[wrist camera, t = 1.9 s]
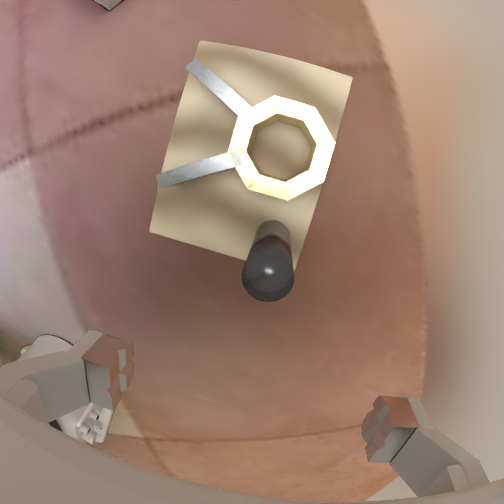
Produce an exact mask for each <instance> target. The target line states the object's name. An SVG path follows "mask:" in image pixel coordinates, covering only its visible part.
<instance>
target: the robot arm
mask: <svg viewBox="0 0 504 504" xmlns="http://www.w3.org/2000/svg"><path fill="white" fill-rule="evenodd" d="M133 354H134V346H133V344H132V343H130V342H127V341H124V340H122V339H119V338H116V337H114V336H111V335H108V334H105V333H103V332H100V331H97V330H95V329H91V330H89V331H88V332H87V333H86V334H85V335H84V336H83V337H82V338H81V339H80V340H79V341H78V342H77V343H76V344H75V345H73V346H72V345H70V344H69V343H67V342H66V341H64V340H62V339H60V338H58V337H55V336H51V335H43V336H40V337H38V338H37V339H36V340H35V341H34V343H33V344H32V345H29V346H25V347H24V348H23V349H22V350H21V356H20V357H19V359H18V360H17V361H16V362H11V363H6V364H4V365H3V366H2V367H0V504H504V479H500V480H497V481H493V482H490V483H489V480H488V478H487V476H486V474H485V472H484V470H483V467H482V465H481V464H480V461H479V460H478V459H477V458H475V457H474V456H473V455H471V454H470V453H469V452H467V451H466V450H465V449H463V448H462V447H460V446H459V445H458V444H457V443H455V442H454V441H453V440H451V439H450V438H449V437H447V436H446V435H445V434H444V433H442V432H441V431H440V430H438V429H437V428H433V427H432V425H431V423H430V421H429V419H428V417H427V415H426V412H425V410H424V408H423V406H422V404H421V402H420V400H419V399H418V398H417V397H391V396H378V397H377V398H376V400H375V401H374V403H373V406H374V409H373V410H372V411H370V412H369V413H367V415H366V417H365V419H364V421H363V425H362V436H363V439H364V440H365V441H366V442H367V443H368V444H367V446H366V447H365V450H366V454H367V459H368V462H376V463H390V465H391V466H392V467H393V468H394V470H395V471H396V472H397V473H398V474H399V475H400V477H401V478H402V479H403V480H404V481H405V482H406V484H407V485H408V486H409V487H410V488H411V489H412V491H413V492H414V493H415V494H416V495H417V496H418V497H415V498H406V499H396V500H383V501H361V502H328V501H306V500H293V499H283V498H274V497H266V496H259V495H252V494H246V493H240V492H235V491H229V490H224V489H220V488H215V487H211V486H206V485H202V484H198V483H194V482H190V481H186V480H183V479H179V478H176V477H172V476H169V475H166V474H162V473H159V472H156V471H153V470H150V469H147V468H144V467H141V466H139V465H136V464H133V463H130V462H128V461H125V460H122V459H120V458H117V457H115V456H112V455H110V454H108V453H105V452H103V451H101V450H98V449H96V448H94V447H92V446H89V445H87V442H88V443H90V444H94V442H101V443H102V442H103V441H104V440H105V438H106V435H107V432H108V428H109V425H110V421H111V418H112V415H113V411H114V409H115V407H116V406H117V404H118V402H119V401H120V399H121V392H122V391H125V390H127V388H128V387H129V385H130V383H131V380H132V377H133V372H134V364H133V362H132V361H131V357H132V356H133Z"/></svg>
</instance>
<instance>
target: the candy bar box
mask: <svg viewBox="0 0 504 504" xmlns="http://www.w3.org/2000/svg"><path fill="white" fill-rule="evenodd" d="M93 1H94V2H96V3H97V4H99V5H100V6H102V7H103V8H104V9H106V10H107V11H110V10H111V9H113V8H114V7H116V6H117V5H118V4H119V3H120V2H122V1H123V0H93Z"/></svg>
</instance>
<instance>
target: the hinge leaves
mask: <svg viewBox="0 0 504 504" xmlns="http://www.w3.org/2000/svg"><path fill="white" fill-rule="evenodd" d="M185 68H186V69H187V70H188V71H189V72H190V73H191V74H192V75H193V76H194V77H195V78H196V79H197V80H198V81H200V82H201V83H202V84H203V85H204V86H205V87H206V88H207V89H208V90H210V91H211V92H212V93H213V94H214V95H215V96H216V97H217V98H218V99H219V100H221V101H222V102H223V103H224V104H225V105H226V106H227V107H228V108H229V109H230V110H231V111H232V112H233V113H235V114H236V115H237V116H238V119H237V122H236V125H235V129H234V132H233V136H232V139H231V143H230V146H229V150H228V153H225V154H221V155H218V156H214V157H211V158H207V159H204V160H201V161H197V162H194V163H191V164H187V165H184V166H181V167H178V168H175V169H172V170H169V171H165V172H162V173H159V174H156V175H155V176H156V179H157V183H158V187H159V189H161V188H165V187H169V186H174V185H178V184H181V183H185V182H188V181H191V180H195V179H198V178H202V177H205V176H209V175H212V174H216V173H220V172H223V171H227V170H231V169H234V168H236V169H237V171H238V173H239V175H240V176H241V178H242V180H243V182H244V183H245V185H246V187H247V189H250V190H253V191H257V192H260V193H263V194H267V195H270V196H274V197H277V198H280V199H284V200H287V201H288V200H290V199H291V198H293V197H295V196H297V195H299V194H301V193H303V192H305V191H307V190H309V189H311V188H312V187H314V186H316V185H318V184H320V183H322V182H324V179H325V176H326V172H327V169H328V166H329V162H330V159H331V156H332V152H333V149H334V145H335V142H334V140H333V138H332V136H331V134H330V133H329V131H328V129H327V127H326V125H325V124H324V122H323V120H322V118H321V117H320V115H319V113H318V111H317V110H316V108H315V107H313V106H310V105H306V104H303V103H300V102H296V101H293V100H289V99H286V98H282V97H278V96H275V95H274V96H273V97H271V98H269V99H267V100H265V101H263V102H261V103H260V104H258V105H256V106H254V107H251V106H250V105H249V104H248V103H247V102H246V101H245V100H244V99H242V98H241V97H240V96H239V95H238V94H237V93H236V92H235V91H234V90H233V89H231V88H230V87H229V86H228V85H227V84H226V83H225V82H224V81H222V80H221V79H220V78H219V77H218V76H217V75H216V74H214V73H213V72H212V71H211V70H210V69H209V68H208V67H206V66H205V65H204V64H203V63H202V62H200V61H199V60H198V59H197V58H195V59H194V60H192V61H191V62H190V63H189V64H188V65H187V66H186V67H185ZM276 122H281V123H285V124H288V125H292V126H295V127H298V128H300V129H301V131H302V133H303V135H304V136H305V138H306V140H307V142H308V143H309V145H310V147H311V149H310V152H309V155H308V159H307V162H306V165H305V169H303V170H301V171H299V172H297V173H296V174H294V175H292V176H290V177H288V178H286V179H282V178H279V177H275V176H272V175H268V174H265V173H263V172H262V171H261V169H260V167H259V165H258V164H257V162H256V160H255V158H254V157H253V155H252V150H253V147H254V144H255V140H256V137H257V133H258V132H259V131H261V130H263V129H265V128H266V127H268V126H270V125H272V124H274V123H276Z"/></svg>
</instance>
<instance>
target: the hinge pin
mask: <svg viewBox="0 0 504 504" xmlns="http://www.w3.org/2000/svg"><path fill="white" fill-rule="evenodd" d="M242 282H243V285H244V288H245V289H246V291H247V292H248V293H249V294H250V295H251V296H252V297H254V298H255V299H257V300H260V301H265V302H272V301H277V300H279V299H281V298H283V297H284V296H286V295H287V294H288V293H289V291H290V290H291V288H292V286H293V283H294V269H293V261H292V252H291V243H290V235H289V231H288V229H287V227H286V226H285V225H284V224H283V223H281V222H279V221H276V220H269V221H266V222H264V223H262V224H261V225H260V226H259V227H258V229H257V231H256V234H255V237H254V240H253V243H252V246H251V248H250V251H249V254H248V257H247V260H246V263H245V265H244V268H243V271H242Z"/></svg>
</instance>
